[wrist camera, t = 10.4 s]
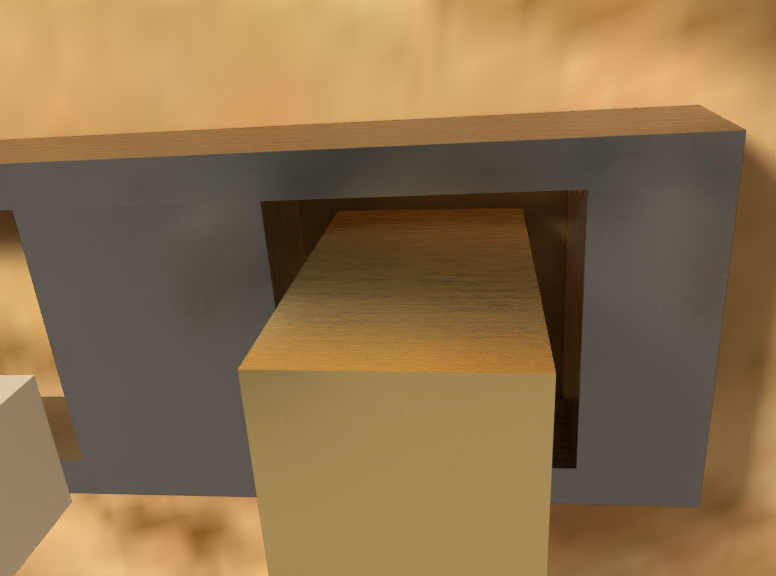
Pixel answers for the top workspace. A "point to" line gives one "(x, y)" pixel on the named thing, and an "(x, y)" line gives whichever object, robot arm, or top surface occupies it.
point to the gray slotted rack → (287, 256)
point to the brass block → (406, 401)
